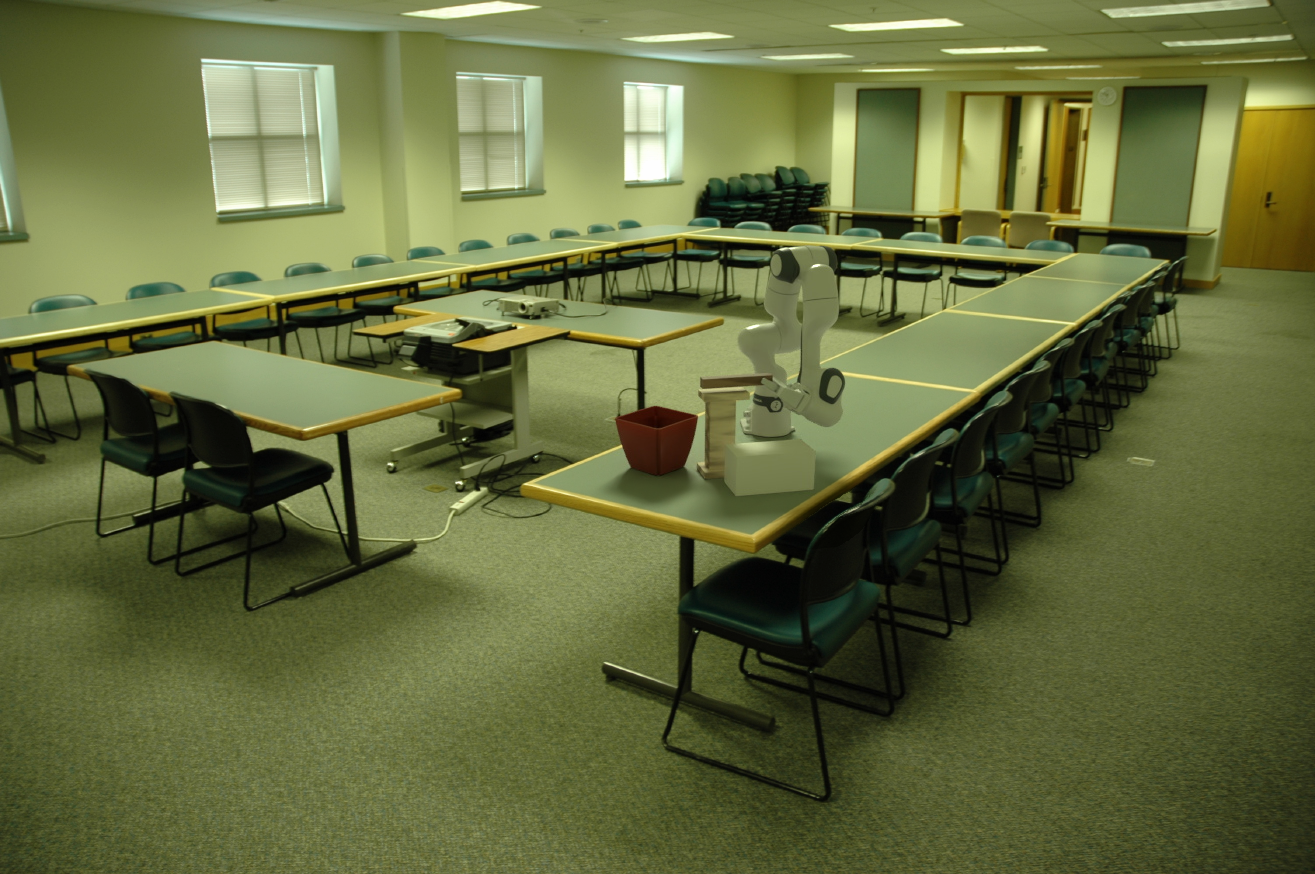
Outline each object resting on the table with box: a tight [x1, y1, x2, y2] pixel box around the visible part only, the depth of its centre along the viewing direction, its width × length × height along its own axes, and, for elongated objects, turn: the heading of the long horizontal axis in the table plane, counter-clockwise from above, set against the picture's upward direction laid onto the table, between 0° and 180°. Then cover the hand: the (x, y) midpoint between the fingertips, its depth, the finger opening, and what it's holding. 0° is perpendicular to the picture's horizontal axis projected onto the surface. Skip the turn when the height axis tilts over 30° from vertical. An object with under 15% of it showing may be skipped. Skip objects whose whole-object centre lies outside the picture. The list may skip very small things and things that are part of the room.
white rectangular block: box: [723, 438, 817, 497], centre depth 273 cm, size 12×24×12 cm, turn 102°
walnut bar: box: [699, 373, 773, 389], centre depth 279 cm, size 3×22×3 cm, turn 102°
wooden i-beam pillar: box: [696, 386, 751, 480], centre depth 283 cm, size 10×14×26 cm
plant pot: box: [614, 405, 699, 477], centre depth 289 cm, size 19×19×17 cm
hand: (759, 377), depth 280 cm, fingers closed on walnut bar, 3 cm apart
